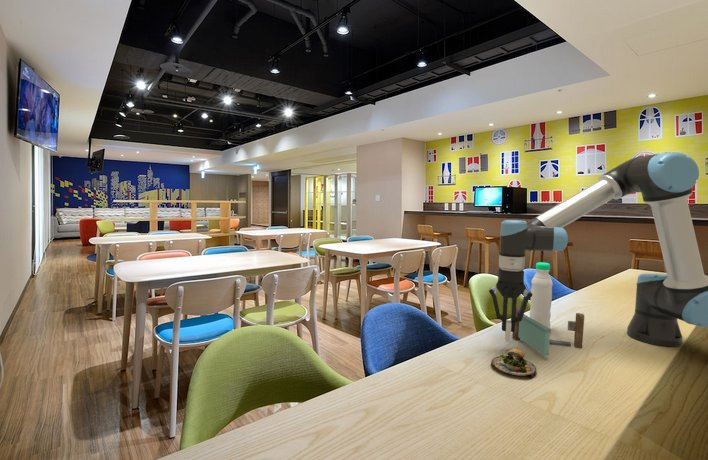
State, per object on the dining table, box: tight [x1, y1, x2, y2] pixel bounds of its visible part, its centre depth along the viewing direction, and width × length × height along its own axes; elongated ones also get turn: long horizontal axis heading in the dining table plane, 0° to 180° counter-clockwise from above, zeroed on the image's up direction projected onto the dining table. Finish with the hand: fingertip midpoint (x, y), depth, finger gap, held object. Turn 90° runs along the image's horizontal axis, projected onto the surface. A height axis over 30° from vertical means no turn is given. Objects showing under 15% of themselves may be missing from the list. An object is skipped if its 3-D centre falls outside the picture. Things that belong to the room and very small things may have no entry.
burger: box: [490, 343, 537, 379], centre depth 105 cm, size 12×12×8 cm
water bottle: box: [529, 261, 554, 329], centre depth 137 cm, size 7×7×25 cm
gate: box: [518, 313, 552, 356], centre depth 118 cm, size 14×2×8 cm, turn 6°
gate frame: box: [511, 306, 585, 349], centre depth 125 cm, size 21×4×11 cm, turn 71°
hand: (507, 340), depth 118 cm, fingers closed
